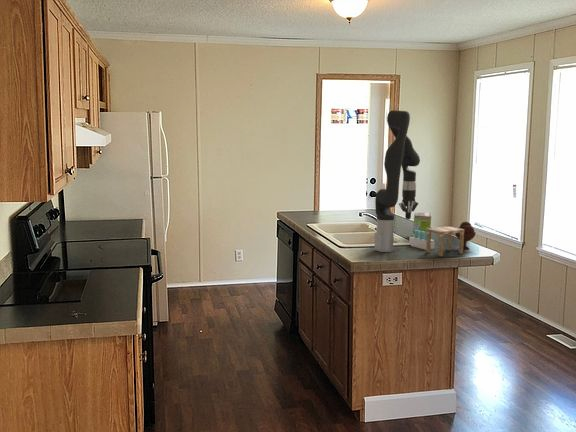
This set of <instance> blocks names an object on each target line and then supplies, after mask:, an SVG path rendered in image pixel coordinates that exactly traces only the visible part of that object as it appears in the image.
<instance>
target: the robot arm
mask: <svg viewBox="0 0 576 432" xmlns="http://www.w3.org/2000/svg"><path fill="white" fill-rule="evenodd" d="M410 120H411V115H410V112H409V111H407V110H396V109H395V110H394V109H393V110H390V111H389V112H388V113H387V117H386V122H387V123H386V124H387V125H388V127H389V129H390V130H391V132H392V135H393V137H394V138H395V139H394V140H393V142H392V143H391V144H390V146H388V148H387V150H386V152H385V155H384V161H383V162H384V163H383V165H384V171H385V174H386V178H387V184H386V189H385V188H380V189H379V190H377V192H376V195H375V202H374V203H375V214H376V232H375V233H374V249H373V250H374V251H376V252H378V253H379V252H380V253H391V252H393V251H394V235H395V214H394V213H393V212H392V210H391V209H390V208H395V206H396V205H397V204H398V205H399V208H400V209H401V210H402V212H403V213H405V217H404V218H405V219H406V220H410V219H411V216H412V212H414V211H416V208H417V207H418V205H419V202H417V201H416V193H417V182H416V180H417V179H416V178H417V172H416V171H415V170H412V169H410V167H417V166H418V165H420V162H421V158H420V155H419V154H418V152H417V151H416V149H415V148H414V146H413V143H412V140H411V138H410V137H409V136H408V135H407V134H408V130H409V126H410ZM401 171H402V176H403V177H402V189H401V190H402V192H401V193H402V195H401V196H402V200H401V202H400V203H398V201H399V195H400V194H399V193H400V192H399V190H400V177H401Z"/></svg>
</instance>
